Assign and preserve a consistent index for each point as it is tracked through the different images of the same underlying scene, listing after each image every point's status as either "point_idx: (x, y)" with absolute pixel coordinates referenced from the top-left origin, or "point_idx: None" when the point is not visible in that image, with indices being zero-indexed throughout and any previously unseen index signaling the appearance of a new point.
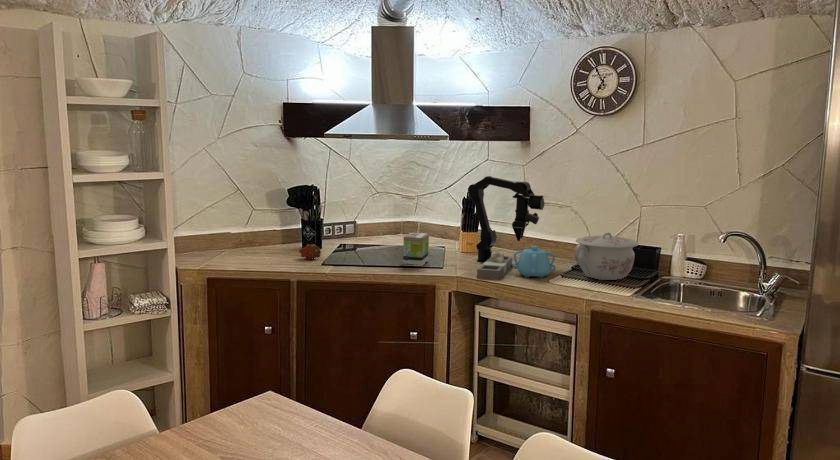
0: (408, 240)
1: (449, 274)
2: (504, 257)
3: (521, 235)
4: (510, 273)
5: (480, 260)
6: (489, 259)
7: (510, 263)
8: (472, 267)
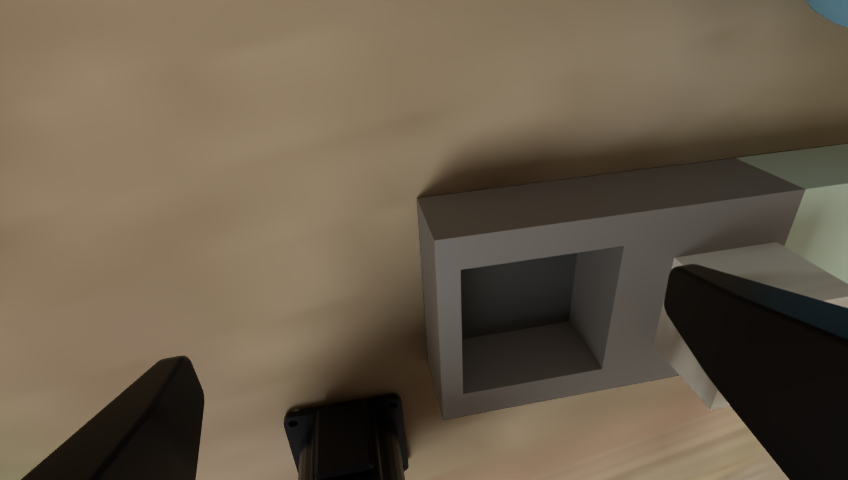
0: None
1: None
2: (459, 308)
3: (177, 425)
4: (815, 97)
5: (405, 451)
6: (647, 371)
7: (541, 198)
8: (621, 407)
